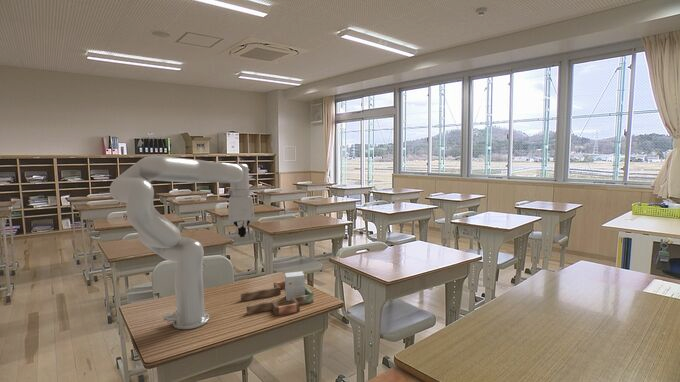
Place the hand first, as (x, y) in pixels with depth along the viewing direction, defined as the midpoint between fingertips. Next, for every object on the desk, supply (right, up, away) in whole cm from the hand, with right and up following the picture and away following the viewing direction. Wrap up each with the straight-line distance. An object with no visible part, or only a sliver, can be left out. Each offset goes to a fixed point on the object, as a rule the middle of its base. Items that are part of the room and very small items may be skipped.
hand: (242, 236), depth 157 cm
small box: (+22, -27, +3) cm, 35 cm away
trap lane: (+14, -27, -1) cm, 31 cm away
